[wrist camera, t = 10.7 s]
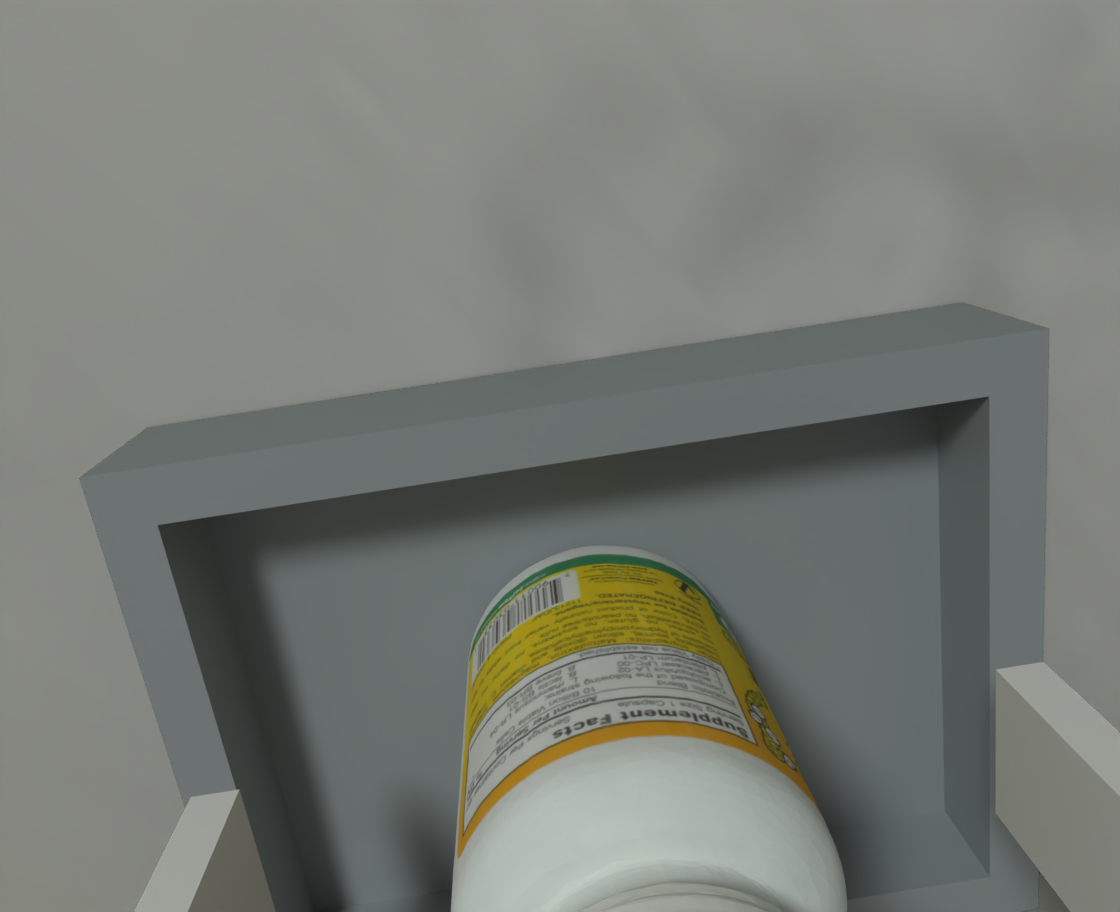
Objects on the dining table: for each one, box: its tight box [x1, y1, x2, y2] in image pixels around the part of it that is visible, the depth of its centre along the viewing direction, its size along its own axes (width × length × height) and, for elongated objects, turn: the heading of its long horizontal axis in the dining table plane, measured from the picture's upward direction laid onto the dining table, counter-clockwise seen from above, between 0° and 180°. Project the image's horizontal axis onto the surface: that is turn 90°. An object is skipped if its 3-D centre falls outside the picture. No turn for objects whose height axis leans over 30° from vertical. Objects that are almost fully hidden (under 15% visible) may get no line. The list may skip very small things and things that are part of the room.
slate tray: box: [79, 303, 1049, 912], centre depth 18 cm, size 16×12×3 cm
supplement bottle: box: [451, 545, 847, 912], centre depth 14 cm, size 5×5×10 cm
